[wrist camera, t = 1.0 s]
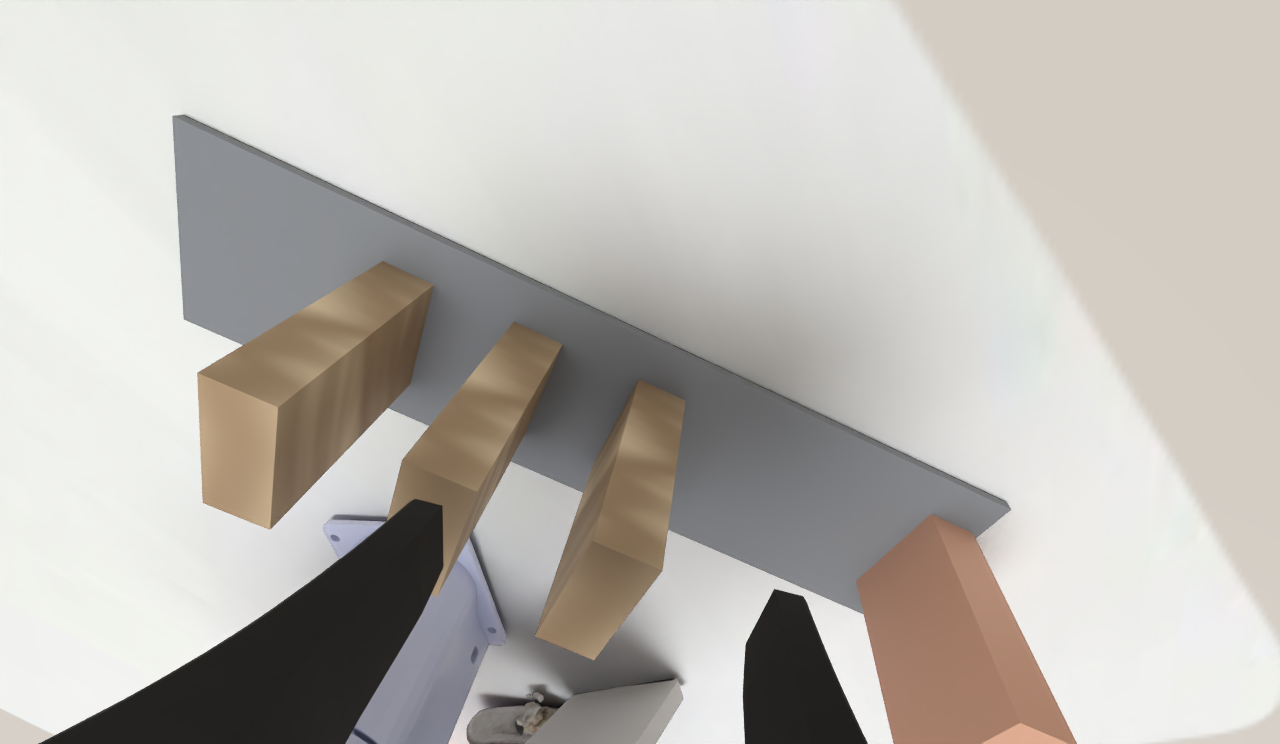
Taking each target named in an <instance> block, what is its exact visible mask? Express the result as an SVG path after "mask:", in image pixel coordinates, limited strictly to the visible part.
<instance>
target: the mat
mask: <svg viewBox="0 0 1280 744" xmlns="http://www.w3.org/2000/svg"><path fill="white" fill-rule="evenodd" d="M172 117H173V135H174V153H175V171H176V189H177V207H178V225H179V243H180V261H181V279H182V296H183V314H184V320H187V321H189V322H191V323H194V324H196V325H198V326H200V327H203V328H205V329H207V330H210V331H212V332H214V333H217V334H219V335H221V336H223V337H226V338H228V339H230V340H233V341H235V342H237V343H240V344H242V345H244V344H246V343H248V342H249V341H251V340H253V339H254V338H256V337H258V336H259V335H261V334H263V333H264V332H266V331H268V330H269V329H271V328H273V327H274V326H276V325H278V324H279V323H281V322H283V321H284V320H286V319H288V318H289V317H291V316H292V315H294V314H296V313H297V312H299V311H301V310H302V309H304V308H306V307H307V306H309V305H311V304H312V303H314V302H316V301H317V300H319V299H321V298H322V297H324V296H326V295H327V294H329V293H331V292H332V291H334V290H336V289H337V288H339V287H340V286H342V285H344V284H345V283H347V282H349V281H350V280H352V279H354V278H355V277H357V276H359V275H360V274H362V273H364V272H365V271H367V270H369V269H370V268H372V267H374V266H375V265H377V264H379V263H380V262H382V261H384V262H386V263H388V264H390V265H392V266H394V267H397V268H399V269H401V270H403V271H405V272H407V273H410V274H412V275H414V276H416V277H418V278H420V279H423V280H425V281H427V282H429V283H431V284H433V285H434V286H433V290H432V295H431V299H430V303H429V307H428V311H427V316H426V320H425V324H424V328H423V332H422V337H421V341H420V345H419V349H418V353H417V357H416V362H415V366H414V370H413V374H412V378H411V383H410V385H409V386H408V387H407V388H406V389H405V390H404V391H403V392H402V393H401V394H400V395H399V396H398V398H397V399H396V400H395V401H394V402H393V403H392V404H391V405H390V406H389V407H388V408H389V409H392V410H394V411H396V412H399V413H401V414H403V415H406V416H408V417H410V418H413V419H415V420H417V421H419V422H422V423H424V424H426V425H429V426H430V425H431V424H432V423H433V421H434V420H435V419H436V418H437V416H438V415H439V414H440V413H441V411H442V410H443V409H444V408H445V406H446V405H447V404H448V403H449V401H450V400H451V399H452V398H453V396H454V395H455V394H456V393H457V392H458V390H459V389H460V388H461V387H462V385H463V384H464V383H465V382H466V380H467V379H468V378H469V377H470V375H471V374H472V373H473V372H474V370H475V369H476V368H477V367H478V365H479V364H480V363H481V362H482V361H483V359H484V358H485V357H486V356H487V354H488V353H489V352H490V351H491V349H492V348H493V347H494V346H495V344H496V343H497V342H498V341H499V339H500V338H501V337H502V336H503V334H504V333H505V332H506V331H507V329H508V328H509V327H510V326H511V325H512V323H513V322H516V323H518V324H520V325H522V326H525V327H527V328H529V329H531V330H533V331H535V332H538V333H540V334H542V335H544V336H546V337H548V338H551V339H553V340H555V341H557V342H559V343H561V344H563V345H562V347H561V349H560V352H559V354H558V357H557V359H556V361H555V364H554V366H553V368H552V371H551V373H550V376H549V378H548V380H547V383H546V385H545V388H544V390H543V392H542V395H541V397H540V400H539V402H538V404H537V407H536V409H535V411H534V414H533V416H532V419H531V421H530V423H529V426H528V428H527V431H526V433H525V435H524V437H523V439H522V441H521V443H520V444H519V446H518V448H517V450H516V452H515V454H514V456H513V457H512V459H511V461H512V462H514V463H516V464H519V465H521V466H523V467H525V468H528V469H530V470H532V471H535V472H537V473H539V474H542V475H544V476H546V477H549V478H551V479H553V480H555V481H558V482H560V483H562V484H565V485H567V486H569V487H572V488H574V489H576V490H578V491H581V492H584V489H585V486H586V483H587V480H588V478H589V475H590V472H591V469H592V466H593V464H594V462H595V460H596V458H597V456H598V454H599V452H600V451H601V449H602V447H603V445H604V443H605V441H606V439H607V438H608V436H609V434H610V432H611V430H612V428H613V426H614V425H615V423H616V421H617V419H618V417H619V415H620V413H621V412H622V410H623V408H624V406H625V404H626V402H627V400H628V399H629V397H630V395H631V393H632V391H633V389H634V387H635V386H636V384H637V382H638V380H639V379H640V380H642V381H644V382H646V383H648V384H650V385H653V386H655V387H657V388H659V389H661V390H663V391H666V392H668V393H670V394H672V395H674V396H676V397H679V398H681V399H683V400H685V408H684V415H683V422H682V430H681V437H680V444H679V452H678V459H677V466H676V474H675V481H674V488H673V496H672V503H671V510H670V518H669V525H668V530H671V531H673V532H675V533H678V534H680V535H682V536H685V537H687V538H689V539H691V540H694V541H696V542H698V543H701V544H703V545H705V546H708V547H710V548H712V549H715V550H717V551H719V552H721V553H724V554H726V555H728V556H731V557H733V558H735V559H738V560H740V561H742V562H744V563H747V564H749V565H751V566H754V567H756V568H758V569H761V570H763V571H765V572H768V573H770V574H772V575H774V576H777V577H779V578H781V579H784V580H786V581H788V582H791V583H793V584H795V585H797V586H800V587H802V588H804V589H807V590H809V591H811V592H814V593H816V594H818V595H821V596H823V597H825V598H827V599H830V600H832V601H834V602H837V603H839V604H841V605H844V606H846V607H848V608H851V609H853V610H855V611H857V612H860V613H862V614H864V613H863V608H862V604H861V600H860V595H859V591H858V587H857V582H856V581H857V580H858V579H859V578H860V577H861V576H862V575H863V574H864V573H866V572H867V571H868V570H869V569H870V568H871V567H872V566H873V565H875V564H876V563H877V562H878V561H879V560H880V559H881V558H882V557H883V556H885V555H886V554H887V553H888V552H889V551H890V550H891V549H892V548H894V547H895V546H896V545H897V544H898V543H899V542H900V541H901V540H903V539H904V538H905V537H906V536H907V535H908V534H909V533H910V532H912V531H913V530H914V529H915V528H916V527H917V526H918V525H919V524H920V523H922V522H923V521H924V520H925V519H926V518H927V517H928V516H929V515H931V514H933V515H935V516H937V517H939V518H941V519H943V520H946V521H948V522H950V523H952V524H954V525H957V526H959V527H961V528H963V529H965V530H967V531H970V532H972V533H973V535H974V537H975V538H977V537H978V536H979V535H980V534H982V533H983V532H984V531H985V530H986V529H988V528H989V527H990V526H991V525H993V524H994V523H995V522H996V521H998V520H999V519H1000V518H1001V517H1003V516H1004V515H1005V514H1006V513H1008V512H1009V511H1010V510H1011V508H1010V507H1009V505H1008V504H1007V502H1005V501H1003V500H1001V499H999V498H997V497H994V496H992V495H990V494H988V493H986V492H984V491H982V490H980V489H977V488H975V487H973V486H971V485H969V484H967V483H965V482H962V481H960V480H958V479H956V478H954V477H952V476H950V475H948V474H945V473H943V472H941V471H939V470H937V469H935V468H933V467H931V466H928V465H926V464H924V463H922V462H920V461H918V460H916V459H914V458H911V457H909V456H907V455H905V454H903V453H901V452H899V451H897V450H894V449H892V448H890V447H888V446H886V445H884V444H882V443H880V442H877V441H875V440H873V439H871V438H869V437H867V436H865V435H863V434H860V433H858V432H856V431H854V430H852V429H850V428H848V427H846V426H843V425H841V424H839V423H837V422H835V421H833V420H831V419H829V418H826V417H824V416H822V415H820V414H818V413H816V412H814V411H812V410H809V409H807V408H805V407H803V406H801V405H799V404H797V403H795V402H792V401H790V400H788V399H786V398H784V397H782V396H780V395H777V394H775V393H773V392H771V391H769V390H767V389H765V388H763V387H760V386H758V385H756V384H754V383H752V382H750V381H748V380H746V379H743V378H741V377H739V376H737V375H735V374H733V373H731V372H729V371H726V370H724V369H722V368H720V367H718V366H716V365H714V364H712V363H709V362H707V361H705V360H703V359H701V358H699V357H697V356H695V355H692V354H690V353H688V352H686V351H684V350H682V349H680V348H678V347H675V346H673V345H671V344H669V343H667V342H665V341H663V340H661V339H658V338H656V337H654V336H652V335H650V334H648V333H646V332H644V331H641V330H639V329H637V328H635V327H633V326H631V325H629V324H627V323H624V322H622V321H620V320H618V319H616V318H614V317H612V316H609V315H607V314H605V313H603V312H601V311H599V310H597V309H595V308H592V307H590V306H588V305H586V304H584V303H582V302H580V301H578V300H575V299H573V298H571V297H569V296H567V295H565V294H563V293H561V292H558V291H556V290H554V289H552V288H550V287H548V286H546V285H544V284H541V283H539V282H537V281H535V280H533V279H531V278H529V277H527V276H524V275H522V274H520V273H518V272H516V271H514V270H512V269H510V268H507V267H505V266H503V265H501V264H499V263H497V262H495V261H493V260H490V259H488V258H486V257H484V256H482V255H480V254H478V253H476V252H473V251H471V250H469V249H467V248H465V247H463V246H461V245H459V244H456V243H454V242H452V241H450V240H448V239H446V238H444V237H442V236H439V235H437V234H435V233H433V232H431V231H429V230H427V229H424V228H422V227H420V226H418V225H416V224H414V223H412V222H410V221H407V220H405V219H403V218H401V217H399V216H397V215H395V214H393V213H390V212H388V211H386V210H384V209H382V208H380V207H378V206H376V205H373V204H371V203H369V202H367V201H365V200H363V199H361V198H359V197H356V196H354V195H352V194H350V193H348V192H346V191H344V190H342V189H339V188H337V187H335V186H333V185H331V184H329V183H327V182H325V181H322V180H320V179H318V178H316V177H314V176H312V175H310V174H308V173H305V172H303V171H301V170H299V169H297V168H295V167H293V166H291V165H288V164H286V163H284V162H282V161H280V160H278V159H276V158H274V157H271V156H269V155H267V154H265V153H263V152H261V151H259V150H257V149H254V148H252V147H250V146H248V145H246V144H244V143H242V142H239V141H237V140H235V139H233V138H231V137H229V136H227V135H225V134H222V133H220V132H218V131H216V130H214V129H212V128H210V127H208V126H205V125H203V124H201V123H199V122H197V121H195V120H193V119H191V118H188V117H186V116H184V115H177V116H172Z"/></svg>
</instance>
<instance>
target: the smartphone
mask: <svg viewBox="0 0 1280 744" xmlns="http://www.w3.org/2000/svg"><path fill="white" fill-rule="evenodd" d="M682 700H683V695H682V692H681V688H680V685H679V682H678V679H677V678H671V679H665V680H659V681H653V682H647V683H641V684H635V685H629V686H623V687H617V688H611V689H605V690H599V691H593V692H587V693H582V694H577V695H574V696H573V697H571V698H570V699H568V700H567V701H566V702H565V703H564V704H563V705H562V706H561V707H560V708H559V709H558V710H557V711H556V712H555V713H554V714H553V715H552V716H551V717H550V718H549V719H548V720H547V721H546V722H545V723H544V725H543V726H542V727H541V728H540V729H539V730H538V731H537V732H536V733H535V734H534V735H533V736H532V737H531V738H530V739H529V740H528V741H527V742H526V743H525V744H656V742H657V741H658V739H659V738H660V736H661V734H662V733H663V731H664V729H665V728H666V726H667V725H668V723H669V721H670V720H671V718H672V716H673V715H674V713H675V712H676V710H677V708H678V707H679V705H680V703H681V702H682Z"/></svg>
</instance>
